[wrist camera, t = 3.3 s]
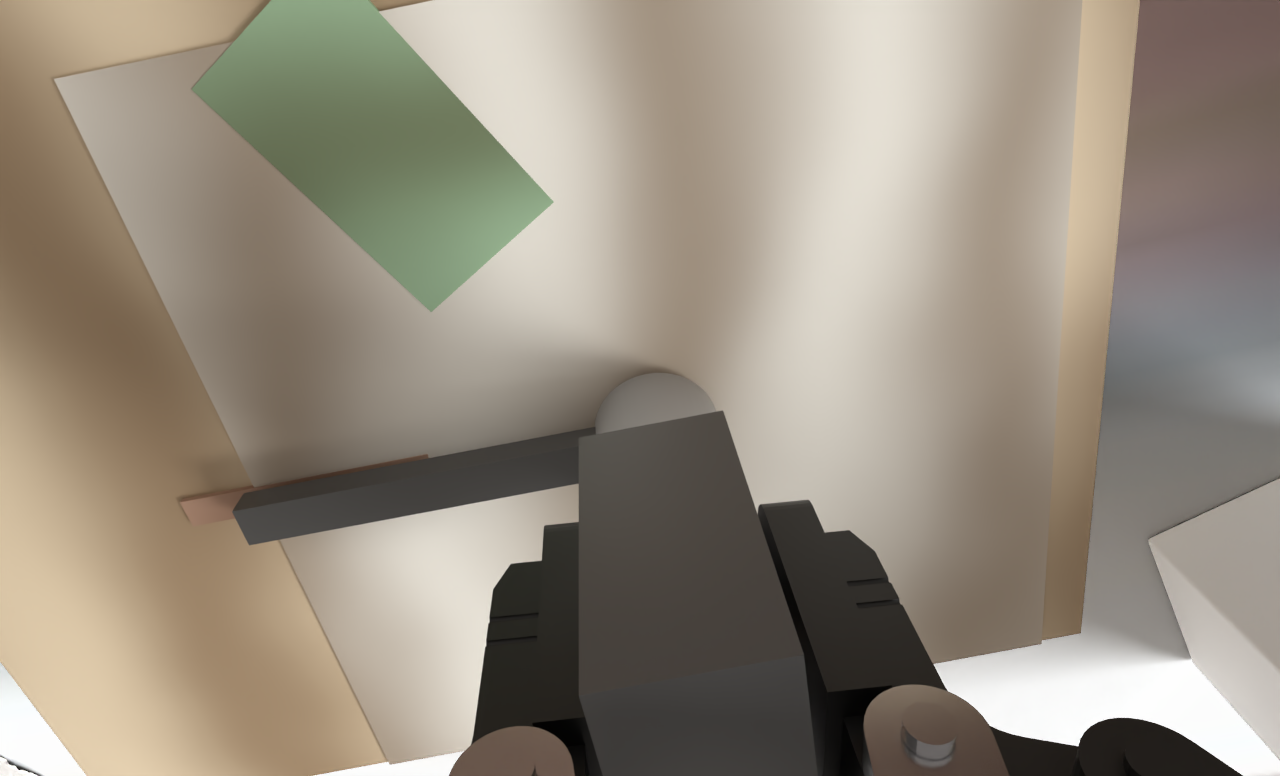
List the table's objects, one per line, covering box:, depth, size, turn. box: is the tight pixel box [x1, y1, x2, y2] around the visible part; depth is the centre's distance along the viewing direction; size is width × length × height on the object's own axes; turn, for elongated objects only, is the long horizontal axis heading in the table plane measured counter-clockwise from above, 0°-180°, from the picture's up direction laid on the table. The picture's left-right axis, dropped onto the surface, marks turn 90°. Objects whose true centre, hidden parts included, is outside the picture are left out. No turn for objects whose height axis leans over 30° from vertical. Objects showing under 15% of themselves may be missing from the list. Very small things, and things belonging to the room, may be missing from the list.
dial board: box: [0, 0, 1140, 776], centre depth 17 cm, size 24×18×4 cm
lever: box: [232, 373, 818, 776], centre depth 12 cm, size 9×6×9 cm, turn 100°
